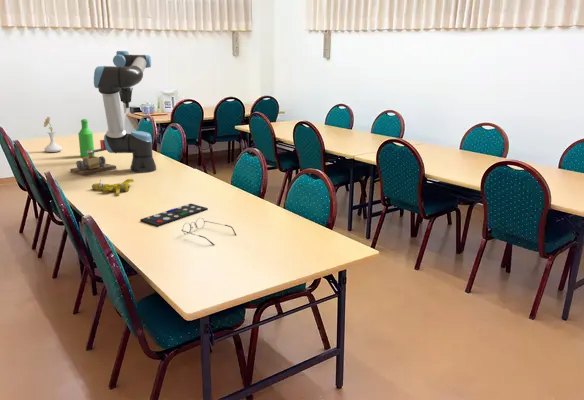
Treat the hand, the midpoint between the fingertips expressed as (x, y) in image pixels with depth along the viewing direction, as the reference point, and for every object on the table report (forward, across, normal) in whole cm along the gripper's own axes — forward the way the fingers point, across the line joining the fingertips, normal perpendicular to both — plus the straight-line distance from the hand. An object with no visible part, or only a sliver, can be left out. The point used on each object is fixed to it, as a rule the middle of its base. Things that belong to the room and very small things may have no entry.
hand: (126, 112), depth 329 cm
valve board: (+30, -12, +36) cm, 48 cm away
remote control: (+31, -112, +61) cm, 132 cm away
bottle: (+31, +26, +15) cm, 43 cm away
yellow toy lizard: (+31, -55, +54) cm, 83 cm away
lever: (+19, -13, +32) cm, 39 cm away
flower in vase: (+31, +55, +22) cm, 67 cm away
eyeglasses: (+31, -141, +70) cm, 161 cm away
